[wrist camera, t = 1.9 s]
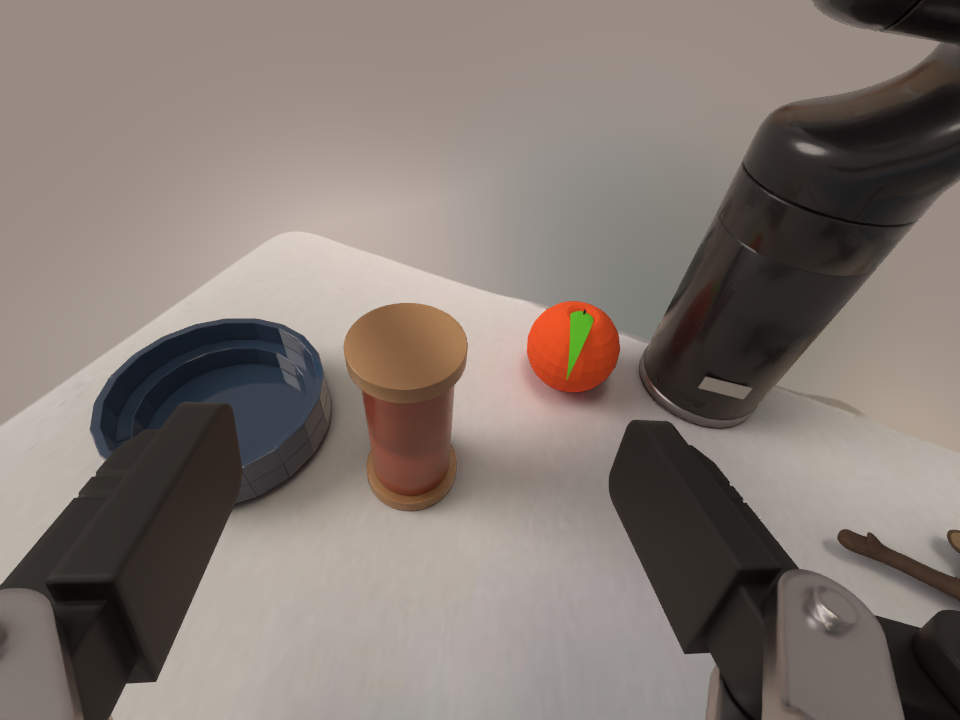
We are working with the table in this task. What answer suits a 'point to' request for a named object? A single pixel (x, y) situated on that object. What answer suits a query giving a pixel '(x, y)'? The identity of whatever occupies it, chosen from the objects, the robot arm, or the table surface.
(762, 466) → the table surface
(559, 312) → the clementine
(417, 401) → the spool
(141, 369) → the bowl
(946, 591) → the bear figurine
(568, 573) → the table surface
